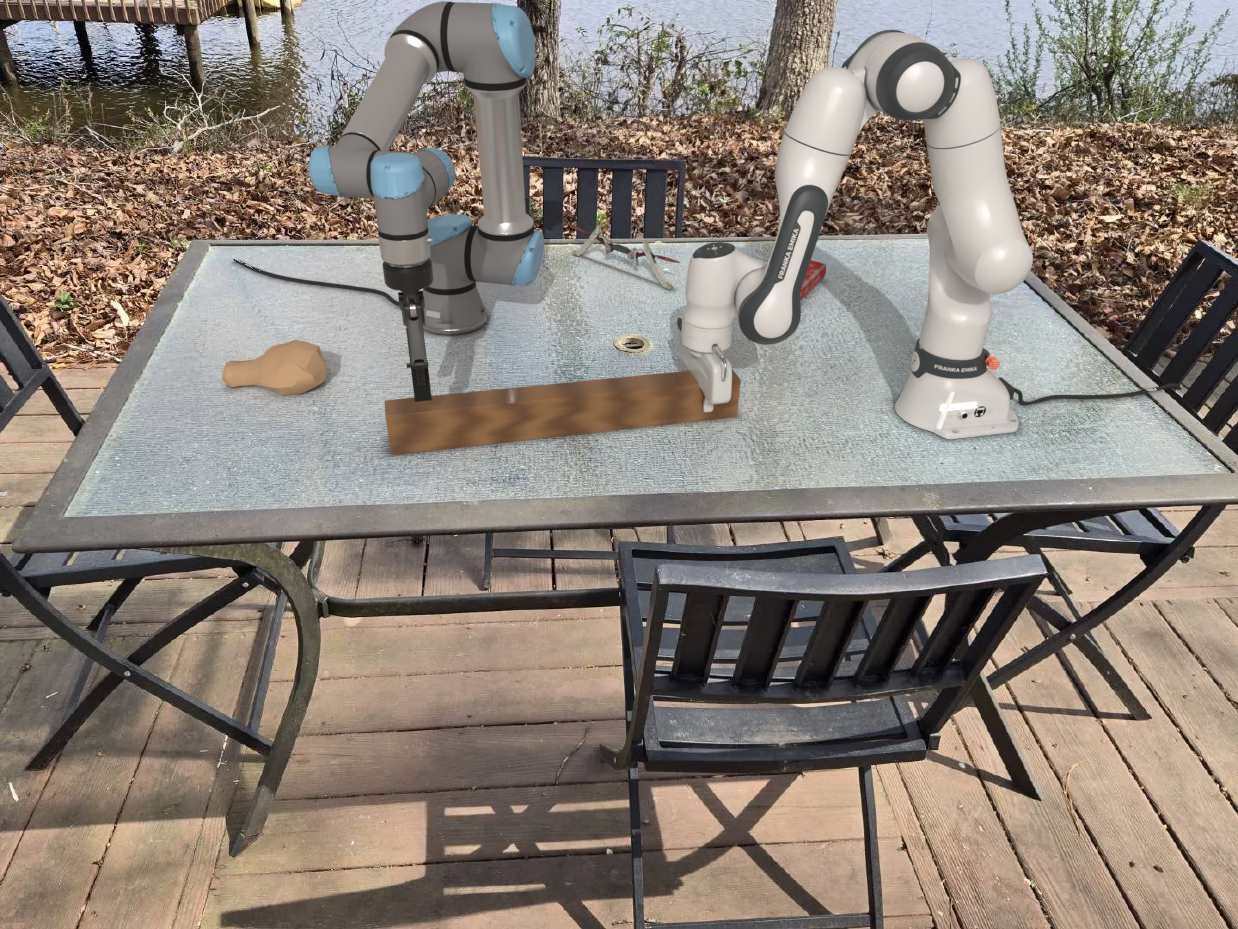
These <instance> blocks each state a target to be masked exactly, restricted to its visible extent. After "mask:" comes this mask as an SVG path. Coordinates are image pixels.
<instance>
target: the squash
mask: <svg viewBox="0 0 1238 929" xmlns="http://www.w3.org/2000/svg"><path fill="white" fill-rule="evenodd" d="M325 361H326V360H325V358H324V356H323V352H322V350H321V347H320V346H319V345H317V344H314V343H311V342H308V341H305V340H299V339H293V340H291V341H288V342H285V343H280V344H275V345H271V347H269V348H268V349H267V350H266V351H265V352H264V354H262V355H260V356H258V357H257V358H254V359H245V360H228V361H226V362H225V364H224V367H223V369H222V373H221V375H222V381H223V383H225V384H226V385H227V387H229V388H236V387H247V386H258V387H264V388H265V389H266V388H267V389H269V390H270V391H272V392H275V393H277V394H280V395H282V396H292V395H293V396H296V395H303V394H304V393H307V392H308V391H311V390H312V389H314V388H316V387H318V386H320V385H321V384H322V383H323V382H325V381H326V380H327V365H326V362H325Z"/></svg>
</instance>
